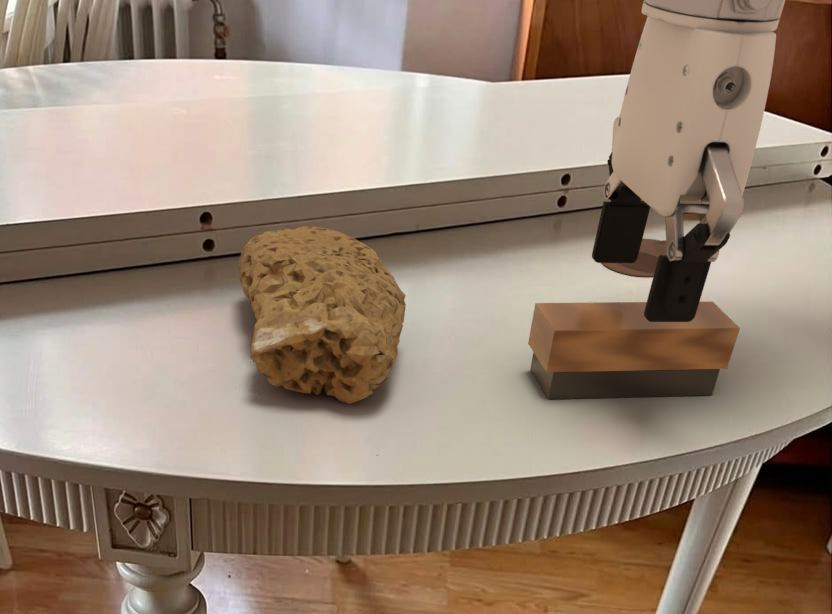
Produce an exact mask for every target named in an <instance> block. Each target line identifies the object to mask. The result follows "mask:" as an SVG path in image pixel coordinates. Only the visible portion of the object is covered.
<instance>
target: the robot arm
mask: <svg viewBox="0 0 832 614" xmlns="http://www.w3.org/2000/svg"><path fill="white" fill-rule="evenodd" d="M642 2H643V3H642V6H641V12H640V13H641V14H642V15H644V16H646V20H645V23H644V26H643V29H642V33H641V36H640V39H639V41H638V46H637V49H636V52H635V56H634V59H633V62H632V66H631V70H630V74H629V77H628V81H627V84H626V89H625V93H624V96H623V100H622V103H621V108H620V113H619V115H618V116H617V117H616V118H615V119H614V121H613V123H612V125H613V126H612V144H611V151H610V152H611V153H610V155H609V156H608V159H607V162H606V163H607V166H608V173H609V177H608V178H607V180H606V181H605V184H604V186H603V199H604V200H605V201H602V207H601V212H600V216H599V221H598V225H597V229H596V234H595V239H594V243H593V248H592V252H591V258H592V259H593V261H594V262H595V263H597V264H602V263H634V262H635V261H636V260H637V258H638V255H639V251H640V247H641V243H642V239H643V238H644V234H645V231H646V226H647V222H648V219H649V214H650V211H651V209H652V210H653V211H655V212H656V213H657V214H659V215H660V216H662V217H664V222H665V223H664V224H665V240H666V247H667V255H659V258H658V261H657V265H656V269H655V273H654V276H653V277H652V281H651V284H650V287H649V292H648V296H647V299H646V302H647V303H646V307H645V311H644V316H645V318H646V319H647V320H648V321H649V322H690V321H692V320H693V319H694V318H695V315H696V312H697V308H698V305H699V302H701V298H702V294H703V292H704V289H705V285H706V281H707V278H708V274H709V271H710V269H711V264H712V263H715V261H717V260H718V257H719V255H720V250H721V249H723V248H724V247H725V245H727V243H728V241H729V239H730V238H731V232H732V230H733V229H734V227H735V226H736V224H737V223H738V221H739V219H740V218H741V217H742V215H743V213H744V211H745V203H746V202H745V199H744V192H745V188H746V185H747V181H748V177H749V174H750V170H751V166H752V163H753V159H754V156H755V151H756V148H757V143H758V139H759V135H760V131H761V127H762V123H763V118H764V114H765V109H766V105H767V100H768V95H769V89H770V84H771V80H772V79H771V78H772V73H773V67H774V59H775V51H776V42H777V34H776V32H774V31H776V30H777V29H778V26H779V23H780V19H781V17H782V13H783V10H784V6H785V3H786V0H643V1H642ZM681 202H698V203H681ZM684 222H698V223H697V224H696V225H694V226H693V227H692V228H691V229H690V230H689V231H688V232H687V233H686V234H685V232H684V230H685V229H684Z"/></svg>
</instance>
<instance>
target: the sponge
mask: <svg viewBox="0 0 832 614" xmlns="http://www.w3.org/2000/svg"><path fill="white" fill-rule="evenodd" d="M238 274H239V276H238V277H239V279H238V280H239V282H240V284H241V286H242V287H241V288H242V291H243V293H244V295H245V297H246V299H247V301H248V303H249V304H250V309H251V310H252V313H253V314H254V317H255V319H256V322H255V323H254V327H253V333H252V334H253V335H252V338H251V341H250V342H251V343H250V350H251V352H250V359H251V360H252V361H253V362H254V365H255V367H256V368H257V369H258V371H259V372H260V373H261V374H262V375H263V376H266V377H267V382H268V383H269V384H270V385H272V386H273V387H275V388H278V387H283V388H284V389H285V390H289V391H293V392H297V393H302V394H312V393H313V394H315V395H316V396H318V395H320V394H321V392H322V390H323V389H324V391H325V394H326V395H327V396H332V397H334V398H336V399H337V400H338V401H339V402H341V403H345V404H349V405H351V404H353V403H356V402H358V401H361V400H363V399H366V398H368V397H369V396H371V395H372V394H374V392H375V391H373V390H375V389H377V388H379V387H382V384H381V383H383V381H384V380H385V379H387V378H388V377H389V375H390V372H391V370H393V368H394V365H395V363H396V361H397V357H398V354H399V353H398V352H399V351H398V345H399V343H400V341H401V340H400V337H401V334H402V331H403V328H404V324H403V323H404V322H405V312H406V307H407V304H406V301H405V299H406V294H405V293H404V292H403V291H402V290H401V288H400V286H399V284H398V283H397V281H396V280H395V277H394V275H392V274H391V272H390V270H389V269H388V267H387V266H384V264H383V261H382V260H381V258H380V257H379V256H378V254H377V252H376V251H375V250H374V249H373V248H372V247H370V246H368V245H367V244H365V243H363V242H361V241H359V240H358V239H356V238H354V237H352V236H350V235H347V234H346V233H343V232H341V231H337V230H334V229H330V228H326V227H319V226H314V225H313V226H306V225H302V226H300V227H297V228H295V229H292V228H285V229H277V230H267V231H264V232H263V231H262V232H260V233H257V234H256V235H254V236H252V238H251V239H249V240H248V241H247V243H246V244H245V246H243V247H242V249H241V253H240V257H239V263H238Z"/></svg>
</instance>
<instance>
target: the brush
mask: <svg viewBox="0 0 832 614" xmlns="http://www.w3.org/2000/svg"><path fill="white" fill-rule="evenodd" d="M646 303H647V301H623V302H622V301H620V302H616V301H615V302H614V301H613V302H609V301H608V302H607V301H606V302H535V304H534V309H533V315H532V320H531V325H530V331H529V336H528V341H527V342H528V343H527V345H529V347H530V350H531V351H532V359H531V362H530V363H531V364H530V369H529V370H530V372H531V373H532V375H533V377H534V378H535V379H536V382H537V383H538V385H539V386H540V388H541V390H542V391H543V393H544V394H545V396H546V398H547V400H562V399H563V400H567V399H571V400H572V399H604V398H606V399H607V398H647V397H652V398H653V397H689V396H690V397H691V396H712V395H713V394H714V390H715V388H716V384H717V380H718V377H719V375H720V371H721V370H728V367H729V364H730V361H731V357H732V355H733V352H734V348H735V346H736V342H737V339H738V335H739V333H740V331H741V330H740V329H741V328H740V327H739V325H737V324H736V323H735V321H734V320H732V318H730V317H729V316H728V315H727V314H726V313H725V312H724V311H723V310H722V309H721V308H720V307H719V306H718V305H717V304H716V303H715V302H714V301H700V302H699V305H698V308H697V312H696V315H695V318H694V319H693V320H692V321H690V322H649V321H648V320H647V319H646V318H645V316H644V311H645V307H646Z"/></svg>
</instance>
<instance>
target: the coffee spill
mask: <svg viewBox="0 0 832 614" xmlns="http://www.w3.org/2000/svg"><path fill="white" fill-rule="evenodd" d="M659 255H667V247H666V239H664V240H661V239H660V240H659V239H654V238H645V237H643V239H642V243H641V247H640V251H639V255H638V258H637V260H636V261H635V262H634V263H601V264H602V265H603V266H604V267H605V268H607V269H609V270H611V271H614V272H615V273H619V274H622V275H625V276H626V275H627V276H631V277H632V276H633V277H640V278H653V277H654V273H655V269H656V265H657V261H658V258H659Z"/></svg>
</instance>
